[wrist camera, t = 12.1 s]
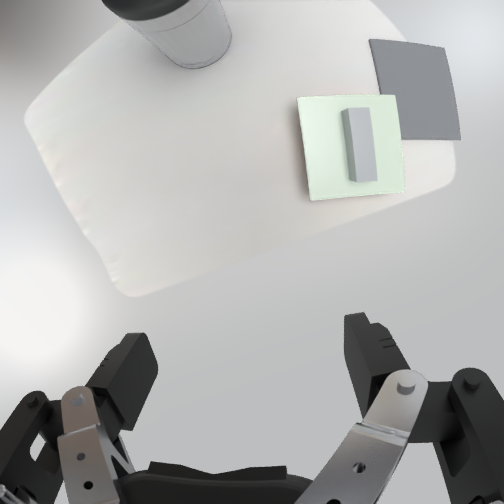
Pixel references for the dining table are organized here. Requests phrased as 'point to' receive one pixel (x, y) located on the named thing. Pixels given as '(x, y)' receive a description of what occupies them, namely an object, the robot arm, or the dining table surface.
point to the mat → (418, 88)
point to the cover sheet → (334, 148)
